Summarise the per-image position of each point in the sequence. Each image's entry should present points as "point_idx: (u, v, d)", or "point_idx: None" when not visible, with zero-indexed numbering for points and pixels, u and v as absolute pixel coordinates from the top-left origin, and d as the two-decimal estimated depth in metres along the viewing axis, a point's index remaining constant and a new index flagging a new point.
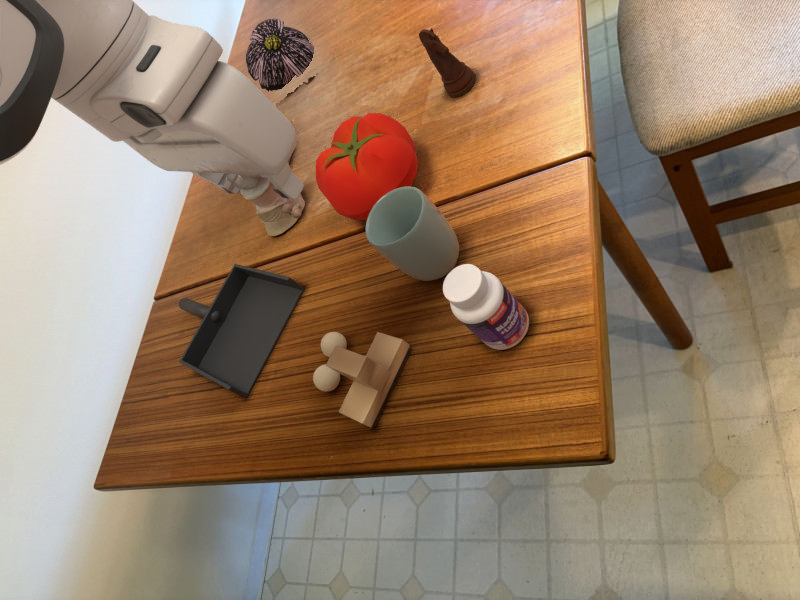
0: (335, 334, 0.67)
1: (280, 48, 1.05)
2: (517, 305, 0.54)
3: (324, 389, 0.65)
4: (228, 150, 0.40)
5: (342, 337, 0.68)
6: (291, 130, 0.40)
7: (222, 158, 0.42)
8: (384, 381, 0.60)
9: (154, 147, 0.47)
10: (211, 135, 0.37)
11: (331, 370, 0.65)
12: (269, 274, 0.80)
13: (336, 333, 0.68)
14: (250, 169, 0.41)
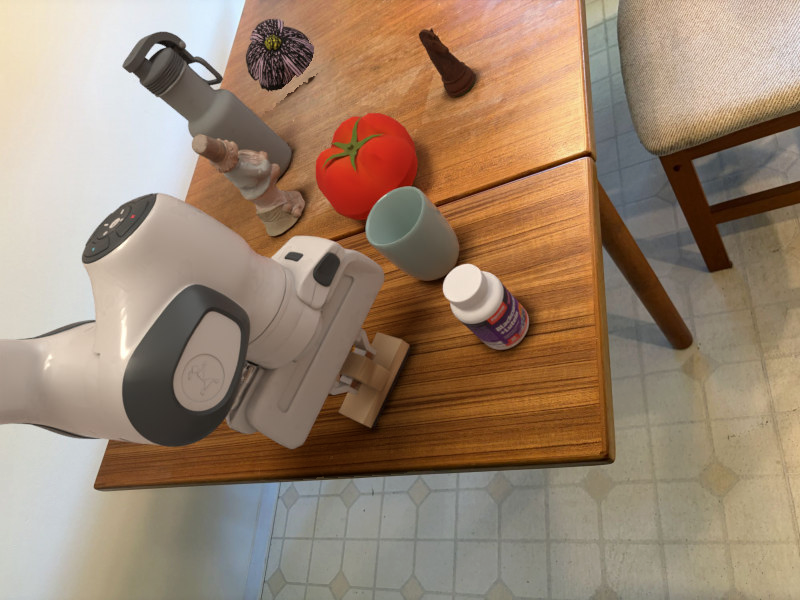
0: None
1: (280, 48, 1.05)
2: (517, 305, 0.54)
3: None
4: (359, 283, 0.55)
5: None
6: None
7: (354, 308, 0.56)
8: (384, 381, 0.60)
9: (301, 389, 0.52)
10: (357, 256, 0.54)
11: None
12: None
13: None
14: (372, 294, 0.57)
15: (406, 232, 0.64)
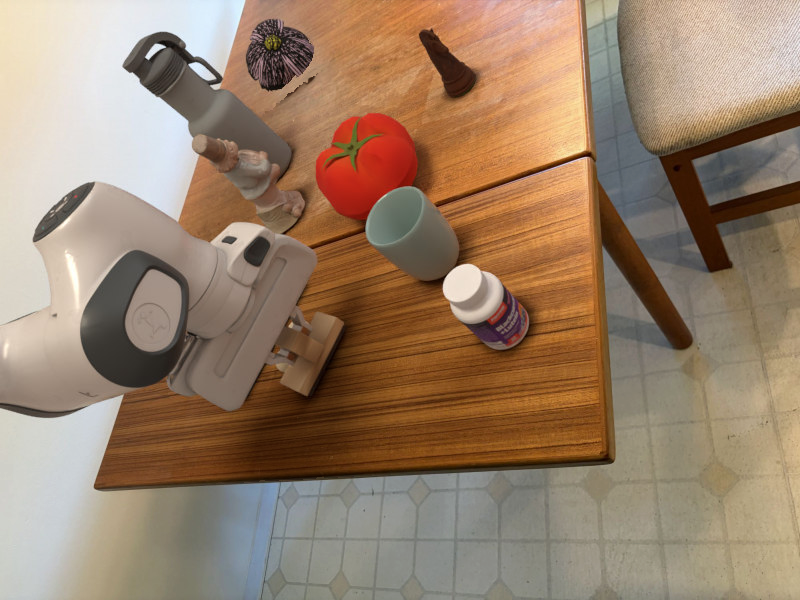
0: None
1: (280, 48, 1.05)
2: (517, 305, 0.54)
3: None
4: (291, 265, 0.62)
5: None
6: None
7: (288, 287, 0.62)
8: (318, 354, 0.66)
9: (237, 357, 0.59)
10: (288, 241, 0.60)
11: None
12: None
13: None
14: (305, 274, 0.64)
15: (406, 232, 0.64)
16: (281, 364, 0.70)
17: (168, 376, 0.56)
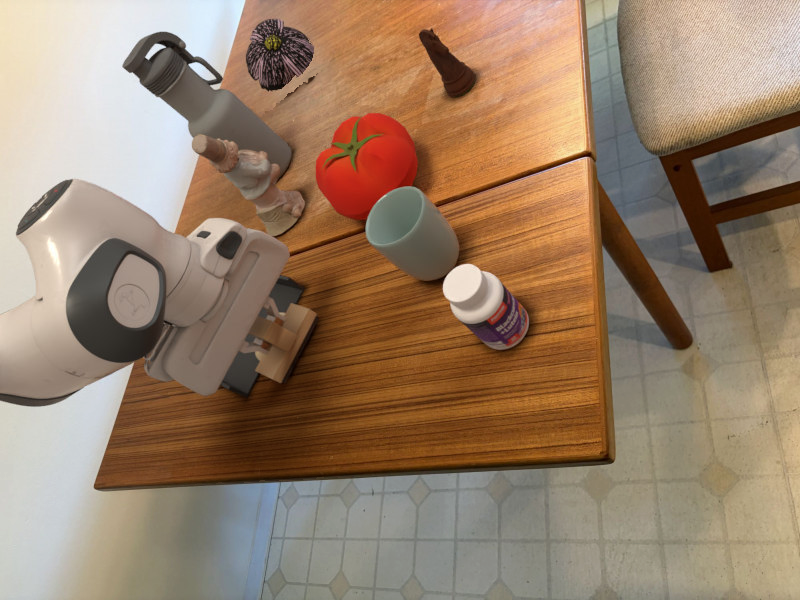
0: None
1: (280, 48, 1.05)
2: (517, 305, 0.54)
3: None
4: (264, 258, 0.66)
5: (284, 314, 0.75)
6: None
7: (261, 279, 0.66)
8: (291, 343, 0.70)
9: (211, 345, 0.63)
10: (260, 235, 0.64)
11: None
12: None
13: None
14: (277, 268, 0.67)
15: (406, 232, 0.64)
16: None
17: (145, 362, 0.59)
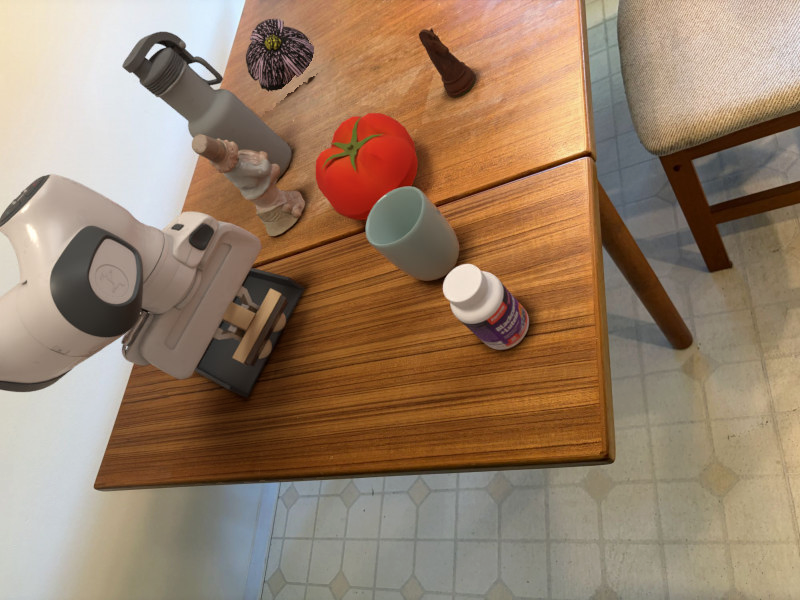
0: None
1: (280, 48, 1.05)
2: (517, 305, 0.54)
3: None
4: (236, 249, 0.70)
5: None
6: None
7: (233, 270, 0.70)
8: (248, 321, 0.70)
9: (186, 331, 0.67)
10: (232, 228, 0.68)
11: None
12: (269, 274, 0.80)
13: None
14: (249, 258, 0.71)
15: (406, 232, 0.64)
16: None
17: (123, 347, 0.63)
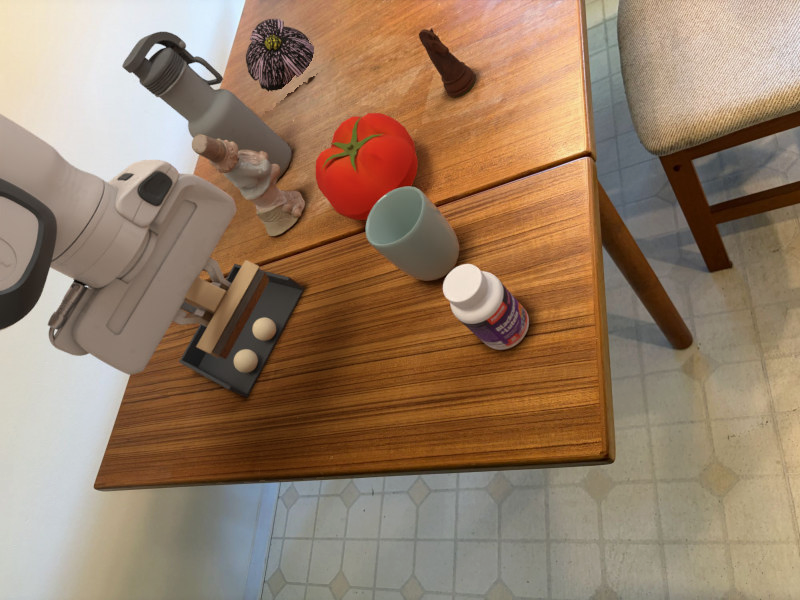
0: None
1: (280, 48, 1.05)
2: (517, 305, 0.54)
3: None
4: (203, 210, 0.55)
5: (254, 323, 0.77)
6: None
7: (199, 236, 0.55)
8: (217, 300, 0.55)
9: (136, 312, 0.52)
10: (197, 181, 0.53)
11: None
12: (269, 274, 0.80)
13: None
14: (220, 223, 0.57)
15: (406, 232, 0.64)
16: (256, 358, 0.76)
17: (50, 330, 0.48)
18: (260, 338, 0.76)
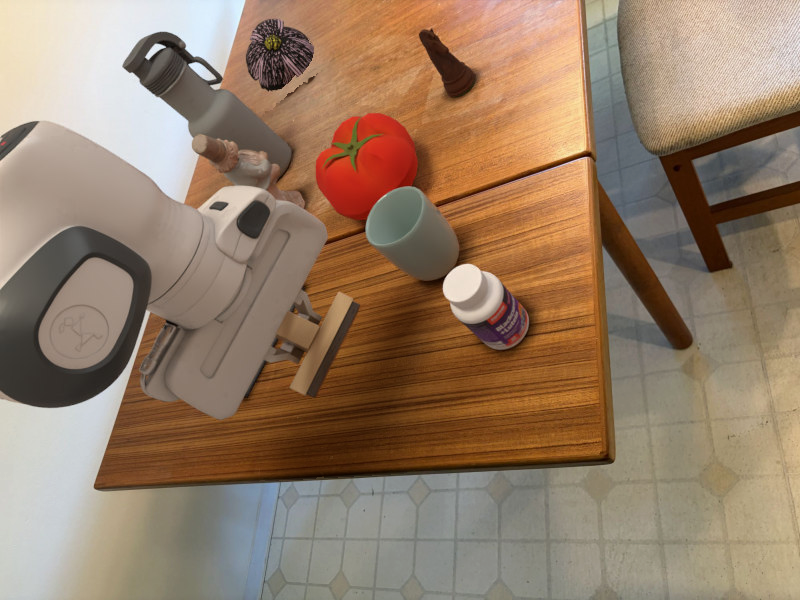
0: None
1: (280, 48, 1.05)
2: (517, 305, 0.54)
3: None
4: (296, 239, 0.51)
5: None
6: None
7: (292, 267, 0.51)
8: (311, 336, 0.51)
9: (229, 353, 0.48)
10: (292, 208, 0.49)
11: None
12: None
13: None
14: (312, 252, 0.52)
15: (406, 232, 0.64)
16: None
17: (142, 376, 0.44)
18: None
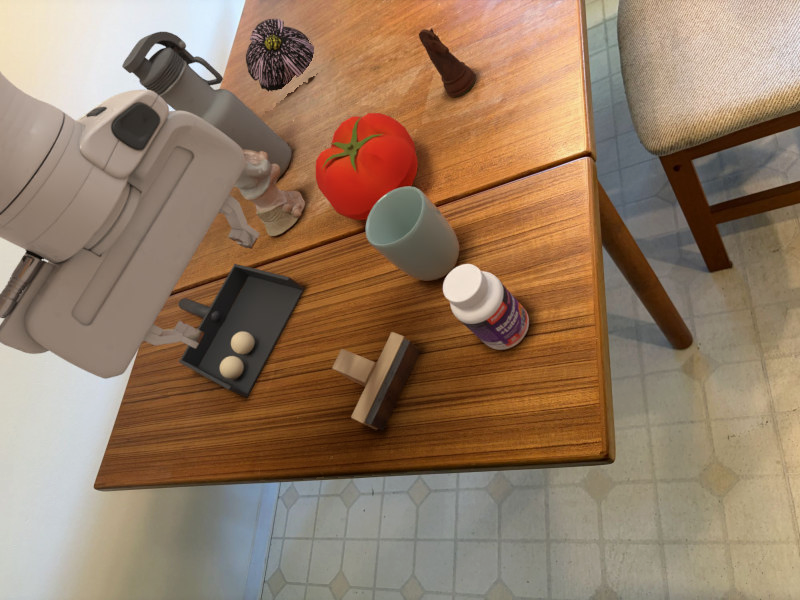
0: None
1: (280, 48, 1.05)
2: (517, 305, 0.54)
3: (239, 360, 0.77)
4: (203, 161, 0.42)
5: None
6: None
7: (198, 196, 0.42)
8: (367, 371, 0.59)
9: (113, 295, 0.39)
10: (194, 121, 0.40)
11: None
12: (269, 274, 0.80)
13: None
14: (225, 180, 0.43)
15: (406, 232, 0.64)
16: (225, 360, 0.76)
17: None
18: (245, 347, 0.77)
